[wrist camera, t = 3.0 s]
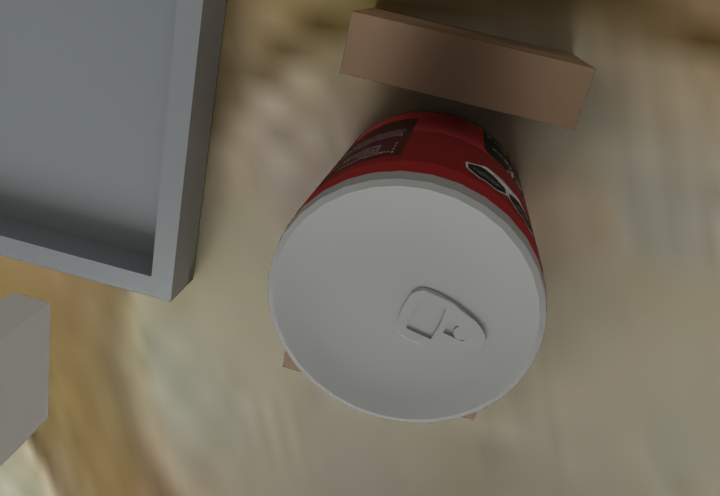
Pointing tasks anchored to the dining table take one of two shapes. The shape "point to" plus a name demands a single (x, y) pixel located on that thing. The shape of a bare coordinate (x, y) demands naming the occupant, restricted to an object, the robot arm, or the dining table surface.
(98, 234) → the tray
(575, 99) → the tan block
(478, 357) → the canned food
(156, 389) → the dining table surface
